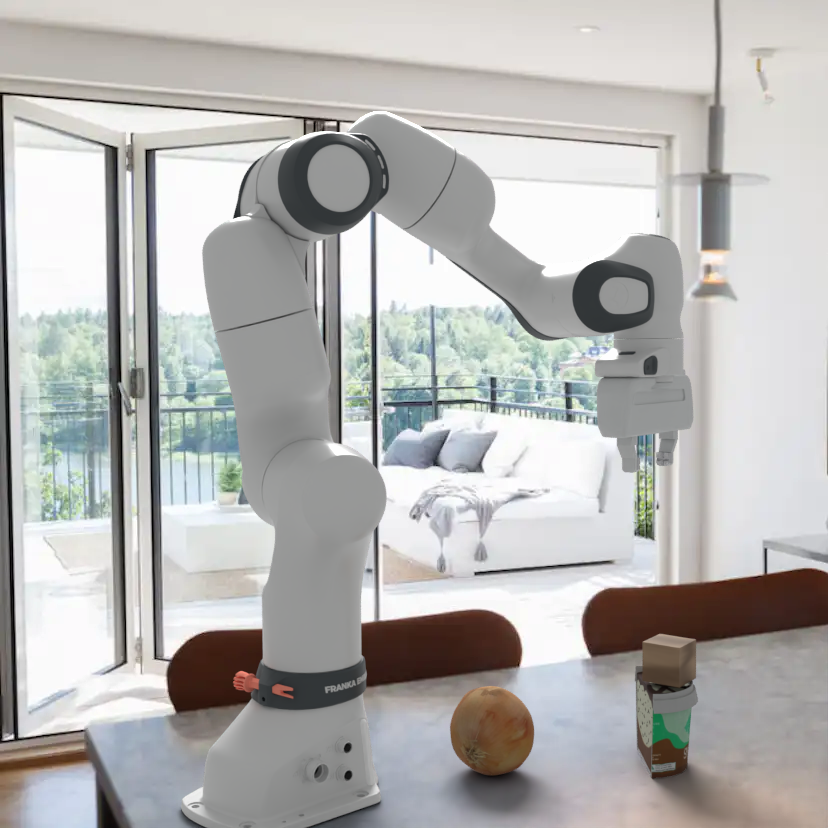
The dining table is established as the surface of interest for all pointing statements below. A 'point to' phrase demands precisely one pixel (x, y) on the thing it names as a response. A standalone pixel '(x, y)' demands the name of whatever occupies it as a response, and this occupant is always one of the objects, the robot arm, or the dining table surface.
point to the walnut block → (669, 660)
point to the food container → (663, 725)
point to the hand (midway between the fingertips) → (648, 468)
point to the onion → (492, 730)
